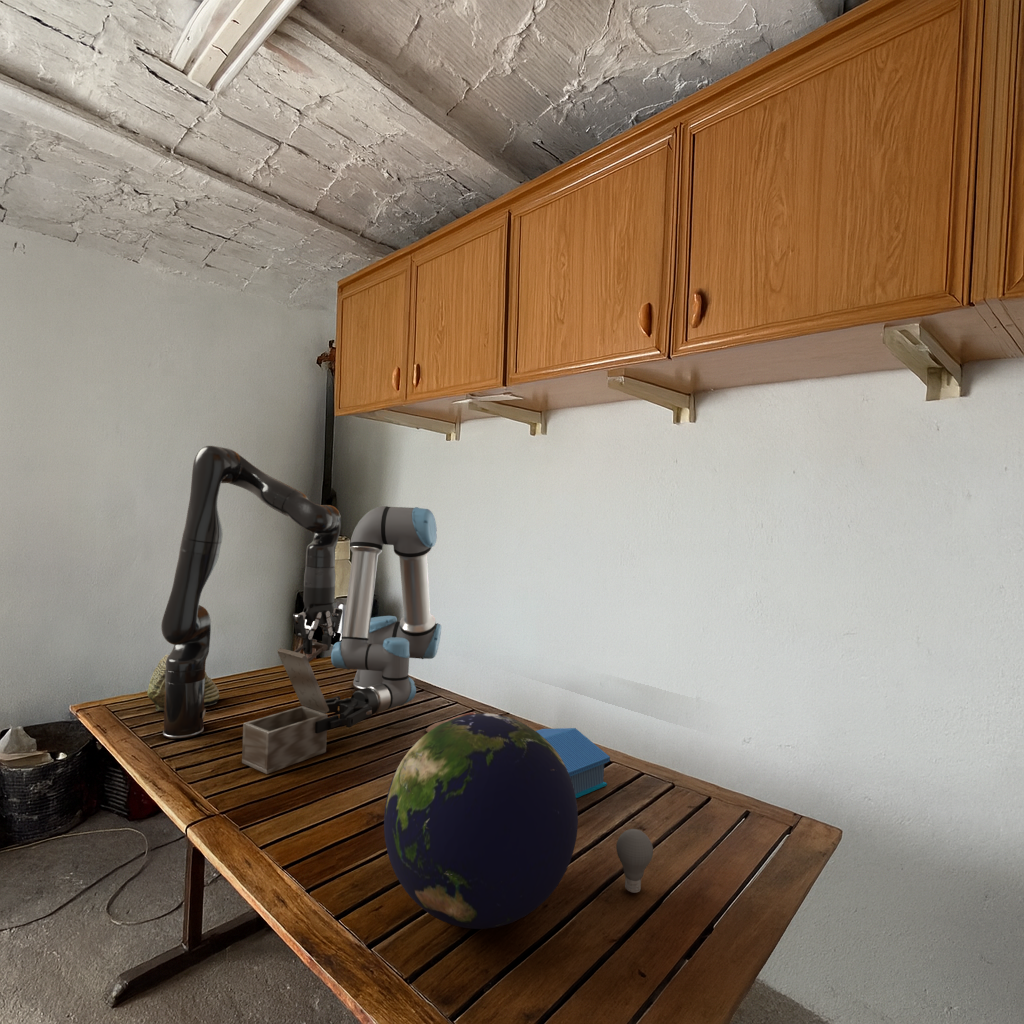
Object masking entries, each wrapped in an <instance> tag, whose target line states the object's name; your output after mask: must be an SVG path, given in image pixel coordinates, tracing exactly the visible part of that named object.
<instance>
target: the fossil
mask: <svg viewBox="0 0 1024 1024" xmlns="http://www.w3.org/2000/svg"><path fill="white" fill-rule="evenodd" d="M169 655H170V654H165V655H164V656H163V657H162V658H161V659H160V660H159V662H158V663H157V666H156V667H155V669H154V670H153V672H152V675H151V677H150V680H149V684H148V688H147V697H148V699H149V700H150V701H152V703H153V704H154V706H155V711H158V712H159V711H162V712H163V711H164V705H165V674H166V659H167V657H168V656H169ZM220 698H221V696H220V690H219V688H218V686H217V685H216V683H215V682H214V681H213V679H212V678H211V677H209V675H208V674H207V672H206V671H205V693H204V707H207V706H213V705H215V704H217V703H218V701H219V699H220Z"/></svg>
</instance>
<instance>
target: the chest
mask: <svg viewBox="0 0 1024 1024" xmlns="http://www.w3.org/2000/svg"><path fill="white" fill-rule="evenodd" d="M328 714H329V713H326V714H325V713H322V712H319V711H316V710H313V709H310V708H307V707H306V706H303V705H301V706H298V707H295V708H294V707H293V708H291V709H287V710H284V711H280V712H277V713H273V714H270V715H266V716H264V717H260V718H257V719H253V720H248V721H245V722H243V723H242V749H241V750H242V751H241V752H242V753H241V763H242V764H244V765H246V766H248V767H250V768H252V769H254V770H256V771H259V772H261V773H263V774H266V775H269V774H272V773H275V772H277V771H280V770H282V769H285V768H287V767H291V766H293V765H295V764H298V763H300V762H304V761H305V760H309V759H311V758H313V757H314V758H315V757H316V756H320V755H322V754H325V753H327V743H328V742H327V738H328V730H326V731H323V732H320V733H315V724H316V722H317V721H320V720H323V719H326V718H329V717H328Z"/></svg>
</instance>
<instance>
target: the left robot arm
mask: <svg viewBox="0 0 1024 1024" xmlns="http://www.w3.org/2000/svg"><path fill="white" fill-rule="evenodd" d="M222 484H230V485H232V486H236V487H239V488H242V489H244V490H246V491H248V492H249V493H251V494H253V495H254V496H255V497H256V498H257V499H259V500H260V501H261V502H262V503H263V504H265V505H266V506H267V507H269V508H270V509H272V510H274V511H276V512H278V513H280V514H282V515H284V516H286V517H288V518H290V519H291V520H292V521H293V522H294V523H295V524H296V525H298V526H299V527H301V528H302V529H304V530H305V531H308V532H310V533H311V534H313V540H312V541H311V542H310V543H309V544H308V545H307V546H306V552H305V568H304V569H305V570H304V574H303V577H304V578H303V597H302V598H303V599H302V600H303V605H304V607H303V610H302V612H300V613H293V614H292V620H293V625H294V632H295V636H296V637H298V638H301V639H302V644H303V649H302V652H303V654H304V655H312V654H313V648H312V641H314V640H313V636H314V633H315V631H316V630H317V628H318V626H320V628H321V631H322V635H321V636H322V637H321V643H322V644H326V645H327V646H328V648H327V650H326V651H325V652H327V651H330V649H331V646H332V636H333V635H334V634H335V633H338V632H339V629H340V626H341V625H340V624H341V620H342V617H343V616H342V615H343V608H338V607H334V603H335V600H336V599H335V597H336V548H337V545H338V542H339V538H340V533H341V528H342V516H341V514H340V511H339V510H338V509H337V508H336V506H333V505H330V504H318V503H315V502H313V501H311V500H310V499H309V498H308V496H307V495H306V494H305V493H303V492H302V491H299V490H298V489H296V488H294V487H292V486H291V485H288V484H286V483H285V482H283V481H280V480H278V479H276V478H274V477H273V476H272V475H269V474H267V473H265V472H264V471H262V470H261V469H259V468H258V467H256V466H255V465H253V464H252V463H251V462H249V461H248V460H247V459H246V458H244V456H241V454H239V453H238V452H237V451H235V450H233V449H230V448H229V447H222V446H217V445H206V446H203V447H202V448H200V449H199V450H198V452H196V454H195V457H194V460H193V463H192V470H191V485H190V493H189V502H188V507H187V513H186V518H185V524H184V529H183V533H182V536H181V541H180V547H179V552H178V558H177V563H176V568H175V572H174V577H173V582H172V586H171V587H172V588H171V591H170V595H169V598H168V601H167V604H166V607H165V610H164V613H163V616H162V619H161V627H160V629H161V633H162V636H163V638H164V639H165V641H166V642H167V643H169V644H171V645H173V647H172V649H171V652H170V653H169V654H168V655H169V656H168V657H167V659H166V674H165V705H164V710H163V731H162V737H164V738H166V739H169V740H185V739H190V738H191V739H192V738H194V737H197V736H199V735H202V734H203V732H204V730H205V729H204V722H205V721H204V718H205V715H206V708H205V706H204V693H205V672H206V664H207V663H206V662H207V658H208V655H209V653H210V647H211V633H212V621H211V620H212V619H211V616H210V613H209V611H208V610H207V608H205V607H204V606H203V605H200V600H201V596H202V592H203V590H204V587H205V586H206V585H207V582H208V580H209V578H210V576H211V575H212V573H213V571H214V569H215V567H216V565H217V562H218V561H219V560H218V559H219V556H220V552H221V546H222V541H223V526H222V522H221V519H220V514H219V510H218V499H219V494H220V489H221V485H222Z"/></svg>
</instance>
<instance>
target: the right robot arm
mask: <svg viewBox="0 0 1024 1024" xmlns="http://www.w3.org/2000/svg"><path fill="white" fill-rule="evenodd" d="M437 531H438V530H437V521H436V518H435V515H434V512H433V511H431V510H430V509H429V508H423V507H419V506H418V507H417V506H415V507H409V506H408V507H406V506H405V507H403V506H388V505H381V506H377V507H374V508H372V509H370V510H369V511H368V512H366V513H365V514H363V516H362V517H361V518H360V520H359V521H358V522H357V523H356V525H355V527H354V530H353V531H352V535H351V538H350V544H349V550H350V551H351V553H352V555H351V564H350V572H349V579H348V580H349V581H348V587H347V596H346V603H345V612H344V619H343V621H344V622H343V627H342V636H341V637H342V638H341V641H337V642H335V643H334V644H333V646H332V650H331V655H330V661H331V665H332V666H333V667H334V668H337V669H344V670H348V671H349V670H356V673H355V674H354V675H355V676H354V677H353V678H354V679H353V683H352V688H353V689H354V690H355V691H354V692H353V693H352V695H351V696H350V697H345V698H343V699H341V696H339V695H336V696H333V697H331V698H324V699H325V701H326V704H327V706H328V708H329V711H328V712H327V713H325V714H333V713H334V714H335V715H332V716H329V717H328V718H326V719H323V720H320V721H317V722H316V724H315V733H320V732H323V731H326V730H327V731H329V730H331V729H334V728H337V727H345V726H346V728H351V727H353V726H355V725H357V724H358V723H360V722H362V721H364V720H365V719H368V718H371V717H372V716H374V715H378V714H379V713H382V712H385V711H387V710H390V709H393V708H396V707H400V706H401V707H402V706H403V705H405V704H407V703H409V702H411V701H412V700H413V699H414V698H415V696H416V695H417V687H416V684H415V681H414V680H413V679H412V678H411V677H410V676H409V673H410V671H409V670H410V669H409V668H410V659H419V660H420V659H421V660H426V659H428V660H431V659H434V658H435V657H436V656H437V653H438V650H439V646H440V641H441V636H442V635H441V634H442V625H441V623H439V622H438V623H436V622H437V621H436V617H435V615H433V614H432V613H431V602H430V601H431V600H430V599H431V598H430V583H429V565H428V563H429V562H428V554H429V553H430V552H431V551H432V547H435V545H436V543H437V539H438V536H437ZM384 545H386V546H392V547H393V552H394V554H395V555H396V556H398V558H399V572H400V582H401V583H400V584H401V594H402V607H403V616H402V617H401V619H400V621H399V620H398V618H397V616H395V615H381V616H375V617H372V613H373V612H372V611H373V604H374V594H375V586H376V577H377V568H378V560H379V555H380V554H381V553H383V546H384ZM307 708H309V707H307ZM310 709H312V708H310ZM313 710H315V709H313ZM316 711H318V710H316ZM319 712H321V711H319ZM322 713H324V712H322Z"/></svg>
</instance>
